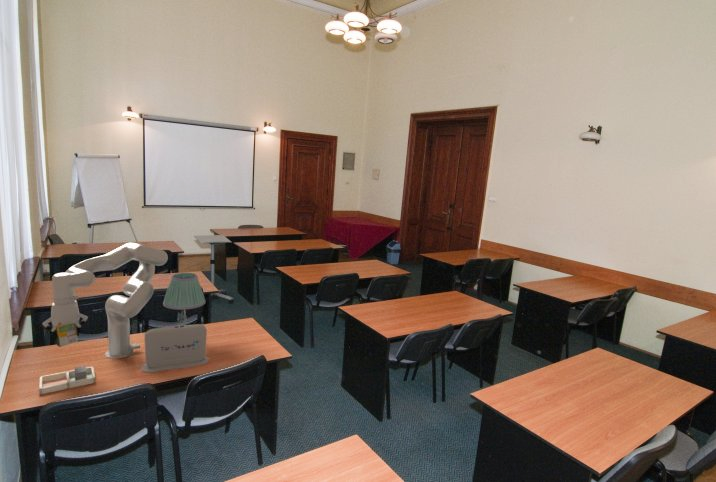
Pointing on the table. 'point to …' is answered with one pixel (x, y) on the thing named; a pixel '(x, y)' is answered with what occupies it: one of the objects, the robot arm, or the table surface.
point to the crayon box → (66, 334)
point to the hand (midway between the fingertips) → (66, 336)
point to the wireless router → (175, 347)
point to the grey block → (80, 373)
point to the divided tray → (64, 381)
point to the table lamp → (184, 294)
